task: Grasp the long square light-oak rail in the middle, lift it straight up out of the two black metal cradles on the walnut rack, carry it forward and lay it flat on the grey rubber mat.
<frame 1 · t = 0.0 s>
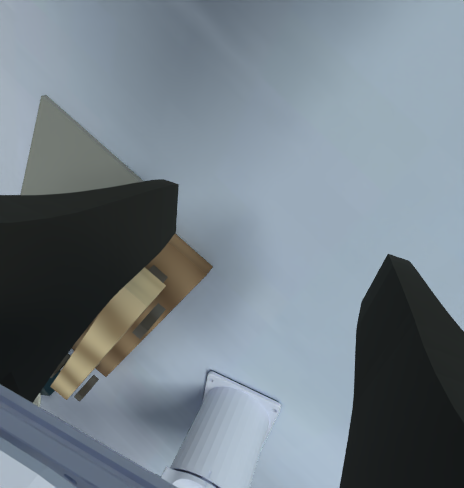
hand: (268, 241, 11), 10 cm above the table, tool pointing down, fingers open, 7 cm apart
rail: (104, 337, 31), point 4 cm above the table, touching rack
mat: (55, 250, 33), on the table
watch: (50, 367, 50), on the table
rack: (129, 312, 34), on the table
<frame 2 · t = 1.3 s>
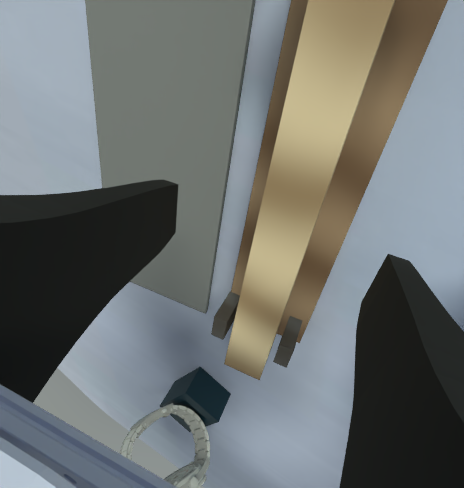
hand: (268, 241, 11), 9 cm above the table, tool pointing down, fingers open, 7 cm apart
rail: (301, 185, 15), point 4 cm above the table, touching rack
mat: (162, 121, 20), on the table
watch: (203, 386, 35), on the table
rack: (315, 162, 18), on the table
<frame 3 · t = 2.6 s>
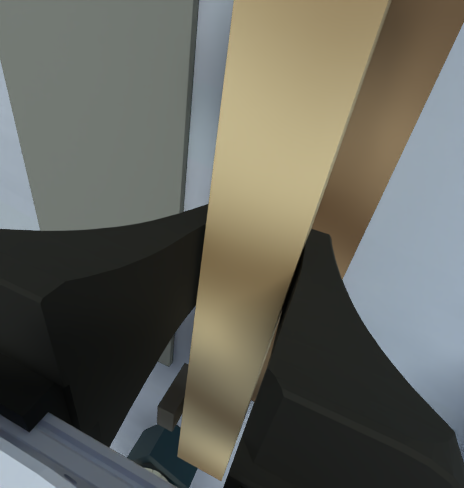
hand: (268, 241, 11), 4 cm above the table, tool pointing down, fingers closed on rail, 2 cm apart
rail: (265, 245, 10), point 4 cm above the table, touching gripper, rack
mat: (97, 141, 16), on the table
watch: (175, 438, 30), on the table
rack: (291, 201, 13), on the table
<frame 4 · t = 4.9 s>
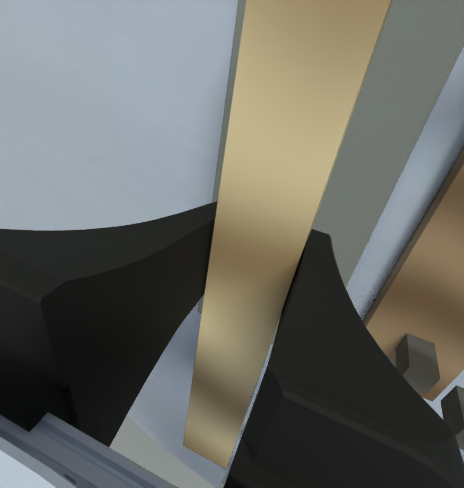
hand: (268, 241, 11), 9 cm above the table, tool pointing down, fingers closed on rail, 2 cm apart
rail: (270, 237, 11), point 9 cm above the table, touching gripper
mat: (302, 160, 18), on the table
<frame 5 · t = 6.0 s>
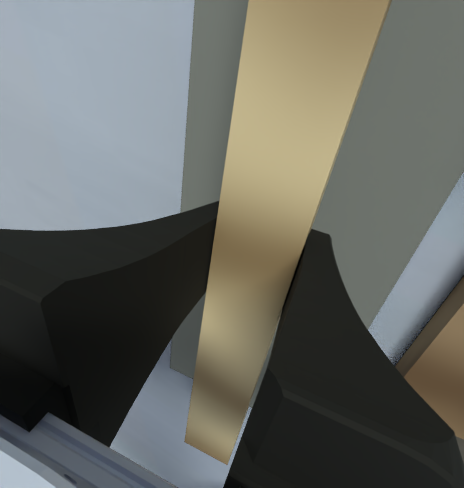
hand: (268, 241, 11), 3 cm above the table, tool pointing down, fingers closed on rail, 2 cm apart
rail: (271, 234, 11), point 3 cm above the table, touching gripper
mat: (292, 202, 13), on the table
when the fingers open (2 cm above the table, at t = 7.0 s): rail stays where it is, resting on mat.
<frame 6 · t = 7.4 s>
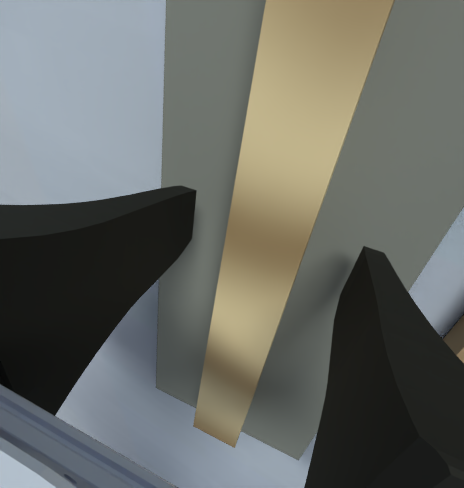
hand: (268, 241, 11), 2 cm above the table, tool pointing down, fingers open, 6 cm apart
rail: (279, 223, 12), resting on mat
mat: (281, 219, 12), on the table
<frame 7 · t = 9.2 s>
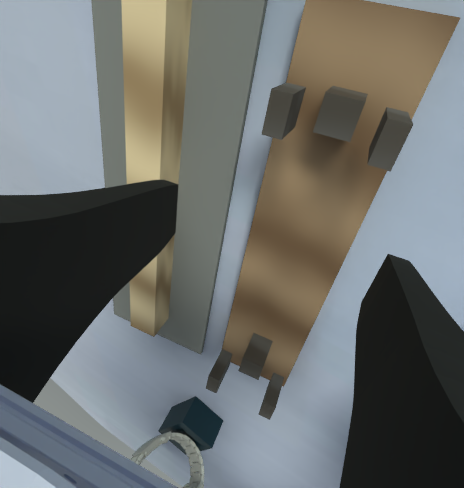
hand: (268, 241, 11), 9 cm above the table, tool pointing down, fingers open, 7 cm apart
rail: (162, 201, 23), resting on mat
mat: (164, 200, 23), on the table
watch: (198, 412, 38), on the table
rack: (295, 246, 21), on the table
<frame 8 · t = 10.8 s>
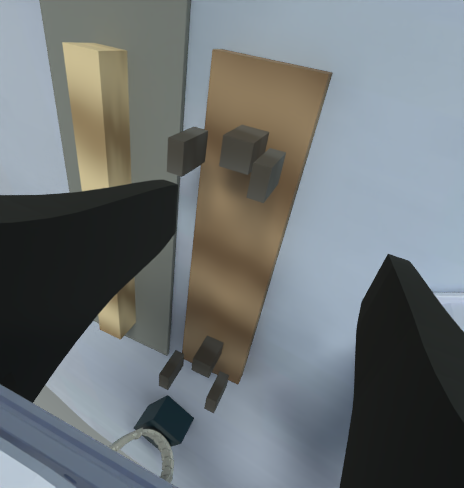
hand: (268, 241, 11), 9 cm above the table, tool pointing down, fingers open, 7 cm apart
rail: (120, 218, 26), resting on mat
mat: (123, 216, 26), on the table
watch: (171, 410, 40), on the table
rack: (235, 257, 24), on the table
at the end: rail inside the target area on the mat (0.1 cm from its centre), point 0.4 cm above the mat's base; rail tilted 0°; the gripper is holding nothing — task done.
